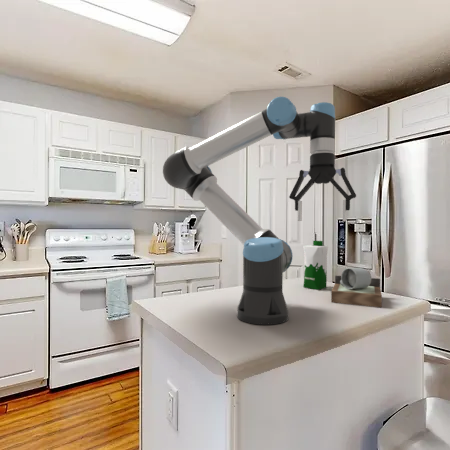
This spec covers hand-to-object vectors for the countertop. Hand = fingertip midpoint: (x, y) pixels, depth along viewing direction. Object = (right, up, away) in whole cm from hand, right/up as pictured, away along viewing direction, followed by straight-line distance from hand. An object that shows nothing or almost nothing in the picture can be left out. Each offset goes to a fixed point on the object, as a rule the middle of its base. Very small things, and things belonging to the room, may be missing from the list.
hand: (321, 221), depth 102 cm
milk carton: (+8, -28, +36) cm, 47 cm away
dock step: (+18, -29, +16) cm, 37 cm away
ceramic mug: (+16, -25, +16) cm, 34 cm away
